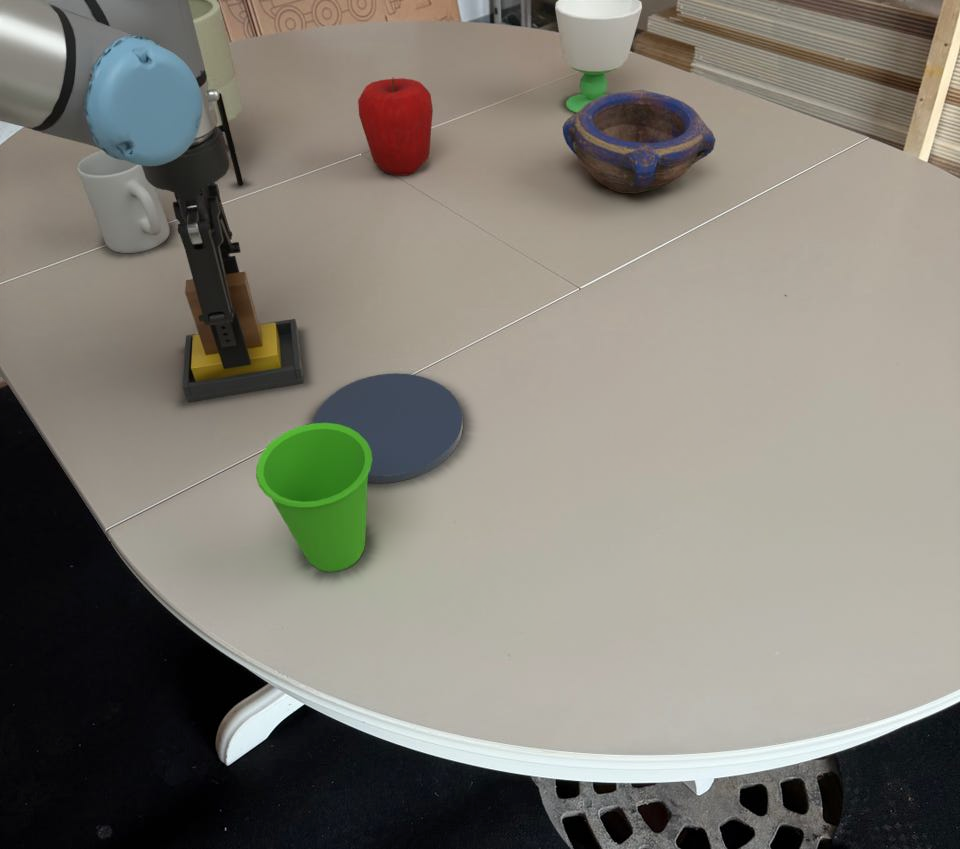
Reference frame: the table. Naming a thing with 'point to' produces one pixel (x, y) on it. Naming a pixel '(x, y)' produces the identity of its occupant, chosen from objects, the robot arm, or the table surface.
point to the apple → (397, 124)
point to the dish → (249, 381)
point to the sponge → (257, 337)
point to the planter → (218, 68)
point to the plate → (398, 422)
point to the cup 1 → (320, 490)
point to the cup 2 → (595, 41)
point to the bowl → (637, 139)
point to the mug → (123, 203)
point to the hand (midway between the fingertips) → (236, 336)
